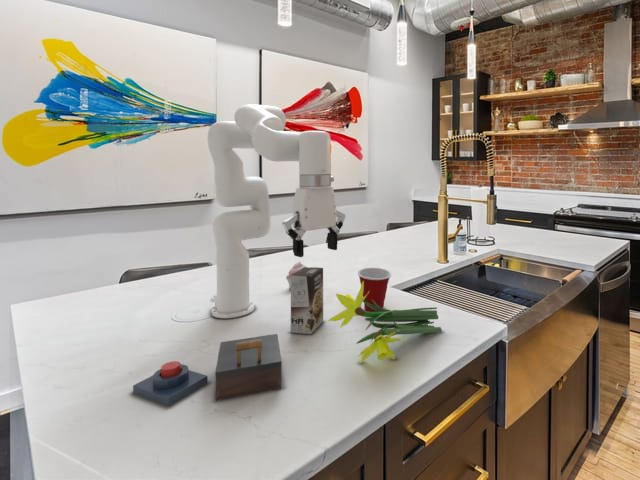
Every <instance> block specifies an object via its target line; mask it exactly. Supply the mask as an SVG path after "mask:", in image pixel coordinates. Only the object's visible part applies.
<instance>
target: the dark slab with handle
mask: <svg viewBox="0 0 640 480" xmlns="http://www.w3.org/2000/svg"><path fill="white" fill-rule="evenodd" d="M278 335H279V334H278V333H273V334H266V335H259V336H253V337H252V336H251V337H246V338H240V339H239V338H238V339H233V340H232V339H231V340H225V341H220V342H219V343H220V344H219V349H218V356H217V361H216V368H215V373H214V374H215V375H214V377H215V379H216V378H221V377H227V376H232V375H238V374H244V373H249V372H255V371H261V370H267V369H272V368H278V367H281V368H282V356H281V349H280V341H279V337H278Z"/></svg>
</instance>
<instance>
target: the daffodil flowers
mask: <svg viewBox="0 0 640 480" xmlns="http://www.w3.org/2000/svg"><path fill="white" fill-rule="evenodd" d="M363 288H364V281H363V282H362V284H361V283H360V288H359V291H358V292H357V295H356V298H355V299H354V298H353V297H352V295H351V294H350V293H347V294H345V295H343V294H339V293H335V294H336V298H337V300H338V301H339V303H340V305H342V306H343V307H344V308H346V309H344V310H342V311H341V312H339V313H337V314H336V315H334V316H332V317H331V318H329V319H328V320H327V322H337V321H341V320H343V321H342V322H341V324H340V326H339V329H341V328H342V327H344V326H346V325H348V324H349V322H350V321H351V320H352V319H353V317H354V316H355V317H359V316H360V317H364V320H365V321H366V322H369V324H368V325H367V327H366V328H365V331H367V330H368V329H369V328H370V327H371V326H372V327H374V328H378V329H379V330H378V331H374V332H372V333H370V334H369V333H368V334H367V335H365V336H364V337H362V338H361V339H359V340H358V341H357V342H356V344H362V343H364V342H366V341H370V342H371V344H369V346H367V347H365V348H364V349H362V350H361V351H360V353H359V354H358V356H357V358H358V357H360V356H361V358H360V364H362V363H363V362H364V361H366V360H367V359H368V358H369V357H370V356H371V355H372V354H374V353H375V352H376V351H377V359H378V360H379V361H382V360H383V361H384V360H386V359H388V357H389V358H390V359H392V360H396V357H395V354H394V352H393V350H392V348H391V346H390V344H393V343H395V342H401V341H403V342H404V341H405V342H406V341H408V340H409V338H400V337H393V336H399V335H401V336H402V335H416V334H417V335H418V334H434V333H435V334H436V333H442V328H441V326H435V325H433V324H434V323H435V321H432V320H439V314H438V307H437V306H435V307H434V306H433V307H420V308H410V309H409V308H408V309H393V310H392V309H391V310H390V309H387V308H383V309H382V308H381V307H380V306H378V305H377V304H376V303H375V302H374V301H373V300H372V301H373V302H374V304H375V305H376V306H377V307H376V306H374V305H372V304H370V303H368V302H366V301H364V299H365V297H366V296H367V295H366V296H364V297H363ZM368 293H369V292H368ZM362 303H363V304H364V303H365V304H366V305H367V306H369V307H370V308H371V309H373V310H375V311H378V312H369V311H366V310H364V309H363V308H362ZM430 320H431V321H430ZM431 324H432V325H431Z"/></svg>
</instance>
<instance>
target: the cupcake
mask: <svg viewBox="0 0 640 480" xmlns="http://www.w3.org/2000/svg"><path fill="white" fill-rule="evenodd" d="M304 267H307V266H306V265H305V264H302V263H301V261H299V262H296V263H295V264H294V265H292V268H291V269H289V271H288V275H285V276H286V277H285V279H286V281H287V284H288V287H289V290H290V291H291V275H292V274H294V273H295V272H297V271H299V270H300V269H302V268H304Z"/></svg>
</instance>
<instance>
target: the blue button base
mask: <svg viewBox="0 0 640 480" xmlns="http://www.w3.org/2000/svg"><path fill="white" fill-rule="evenodd" d="M208 383H209V382H208V375H206V374H203V373H199V372H197V371H194V370H191V369H189V366H188V365H186V364H184V363H183V364H182V363H181V372H180V373H179V374H177V375H175V376H172V377H166V378H163V377H161V368H160V369H158V370H156V371H155V372H154V373H153V374H152V375H151V376H149V377H147V378H145V379H143V380H141V381H139V382H137V383H134V384H133V385H132V393H133V394H135V395H136V396H139V397H142V398H145V399H147V400H150V401H152V402H155V403H158V404H160V405H163V406H165V407H170V406H172V405H174V404H175V403H177V402H179V401H180V400H182V399H184V398H185V397H187V396H189V395H190V394H192V393H194V392H196V391H197V390H199V389H201V388H202V387H204V386H206V385H207V384H208Z"/></svg>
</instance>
